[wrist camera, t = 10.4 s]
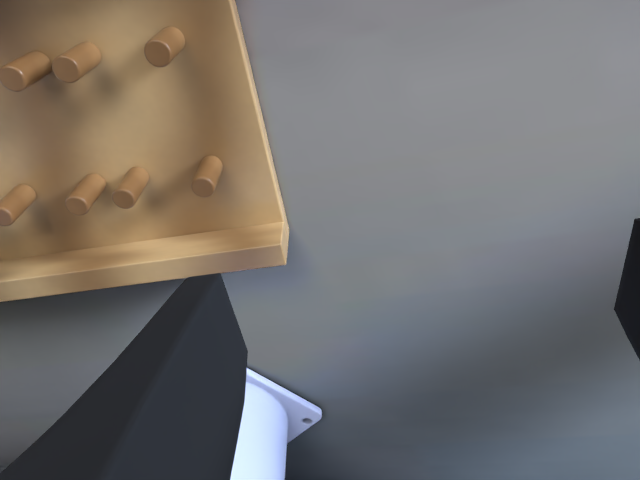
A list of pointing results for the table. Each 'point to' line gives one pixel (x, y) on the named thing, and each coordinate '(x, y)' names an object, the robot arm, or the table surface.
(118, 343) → the table surface
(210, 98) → the rack
